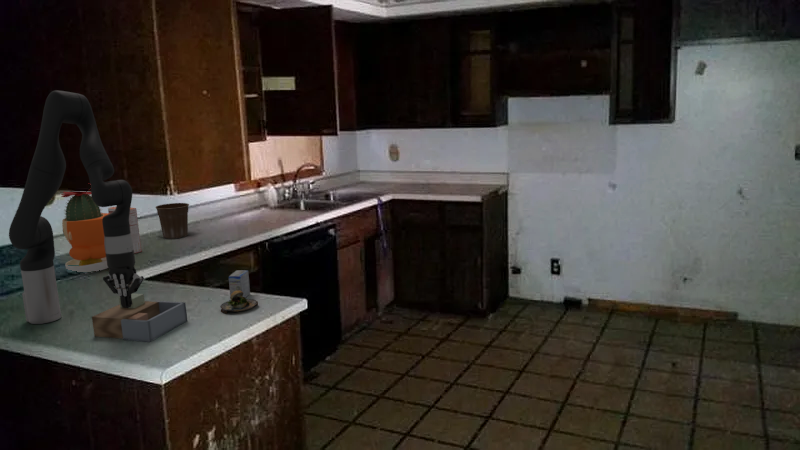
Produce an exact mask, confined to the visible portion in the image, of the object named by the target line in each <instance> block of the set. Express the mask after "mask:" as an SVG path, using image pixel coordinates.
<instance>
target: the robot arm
mask: <svg viewBox="0 0 800 450" xmlns="http://www.w3.org/2000/svg"><path fill="white" fill-rule="evenodd" d="M42 111H43V113H42V118H41V123H40V129H39V135H38V139H37V143H36V147H35V151H34V154H33V157H32V160H31V162H30V166H29V169H28V174H27V179H26V182H25V184H24V185H25V186H24V187H23V188H24V189H23V191H22V195H21V198H20V202H19V204H18V207H17V209H16V211H15V213H14V216H13V219H12V221H11V223H10V226H9V229H8V230H9V231H8V238H9V241H10V243H11V244H12V246H13V247H14V248H15V249H17V250H27V252H26V253H25V256H23V258H22V259H21V260H20V261H19V266H20V267H19V268H20V273H21V279H22V287H23V292H22V294H21V295H22V302H23V307H24V313H25V320H26V322H28V323H29V324H32V325H42V324H47V323H52V322H55V321H57V320H59V319H61V318H62V311H61V306H60V305H61V303H60V296H59V292H58V285H57V278H56V272H55V263H54V260H55V257H56V251H55V249H56V248H55V241H54V240H55V239H54V231H53V227H52V224H51V223H50V222H49V220H48V219H47V218H45V217H44V216H42V214H43V211H44V210H45V207H47V205H48V204H49V202H51V200H52V199H53V198H54V196H55V195H56V194H57V193H58V190H59V189H60V187H61V186H62V183H63V179H64V176H65V173H66V168H67V163H66V162H67V161H66V158H65V155H64V153H63V150H62V147H61V144H60V140H59V138H60V130H61V127H62V124H69V125H70V124H71V125H76V126H77V127H78V128H79V129H78V130H80V132H81V135H82V136H81V142H80V146H79V157H80V158H79V159H80V161H81V163H82V165H83V167H84V169H85V171H86V173H87V176H88V180H89V184H90V185H91V188H90V191H91V194H90V196H91V195H92V199H93V201H94V203H95V204H96V205H98V206H100V207H101V208H107V207H108V208H110V207H116V209H115V211H114V212H113V213H111V214H108V215H106V216H104V217H103V219H102V223H103V230H104V245H105V252H106V260H107V266H108V267H109V268H108V274H107V275H105V276H103V277H102V281H104V283H105V284H106V286H107V287H108V288H109V289H110V291H111V292H112V293H113V294H116V295H118V296H119V298H120V301H121V305H122V308H129V307H131V305H132V298H131V294H132V293H134V294H136V293H137V292H138V290H139V289H140V287H141V285H142V283H143V282H144V279H145V277H144V276H142V275H141V276H140V275H139V274H138V273H137V270H136V268H135V264H136V257H135V254H134V248H133V241H132V237H131V232H130V224H129V215H130V208H132V207H131V206H132V200H133V188H132V186H131V185H130V183H129V182H128V181H127V180H125V179H117V180H116V179H115V180H109V181H108V179H110V178H111V177H113V175H114V173H115V168H114V166H113V165H114V164H113V163H112V162H111V161H112V160H111V159H110V157H109V155H108V154H107V151H106V149H105V147H104V145H103V143H102V139H101V137H100V133H99V130H98V125H97V122H96V118H95V116H94V112H93V108H92V106H91V103H90V101H89V99H88V98H87V97H86V96H85V95H84V94H81V93H78V92H77V93H76V92H72V91H71V92H70V91H64V90H57V89H55V90H52V91H51V92H50V93H49V94H48V96H47V97H46V99H45V103H44V107H43V110H42ZM106 180H107V181H106ZM100 207H99V208H100Z"/></svg>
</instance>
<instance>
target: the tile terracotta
mask: <svg viewBox="0 0 800 450" xmlns="http://www.w3.org/2000/svg"><path fill="white" fill-rule="evenodd" d="M128 319H131V320H145V321H147V320H148V313H138V314H136V315H134V316H131V317H129V318H128Z"/></svg>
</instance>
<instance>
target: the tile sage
mask: <svg viewBox="0 0 800 450" xmlns="http://www.w3.org/2000/svg"><path fill="white" fill-rule="evenodd" d="M131 298H132V305H131V307H129V308H136V307H138V306H140V305H142V304H144V303H145V301H146V300H145V296H144V293H132V294H131ZM118 301H119V304H120V308H122V305H121V301H120V297H119V298H118Z"/></svg>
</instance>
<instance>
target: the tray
mask: <svg viewBox="0 0 800 450" xmlns="http://www.w3.org/2000/svg"><path fill="white" fill-rule="evenodd" d="M158 302H159V310H160V314H159V315H157V316H155V317H153V318H151V319H149V320H147V321H145V320H131V319H122V320H121V326H122V333H123V341H130V342H131V341H132V342H143V343H146V342H147V343H151V342H152V341H154V340H156V339H158V338H160V337H161V336H163V335H165V334H167V333H169V332H170V331H172V330H174V329H176V328H177V327H179V326H181V325H183V324H184V323H185V324H186V322H188V314H187V313H188V312H187V305H186V302H185V301H168V300H166V301H164V300H160V301H158Z"/></svg>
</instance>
